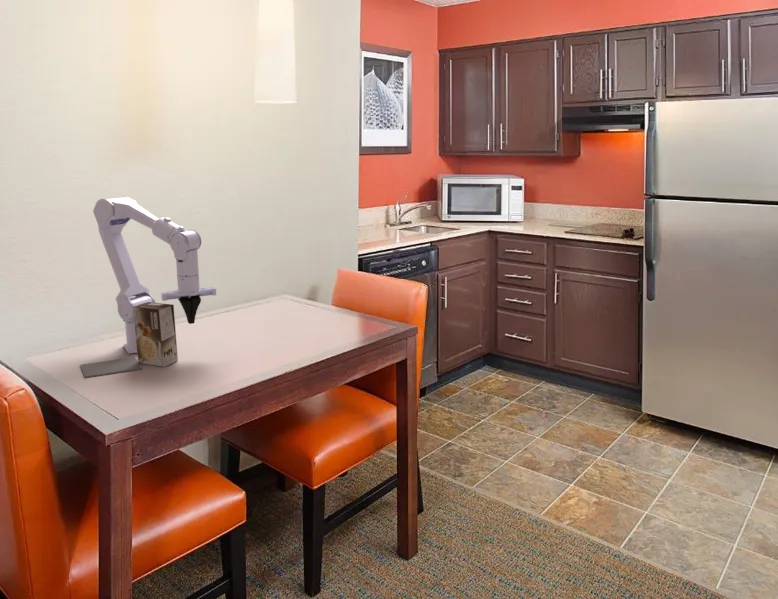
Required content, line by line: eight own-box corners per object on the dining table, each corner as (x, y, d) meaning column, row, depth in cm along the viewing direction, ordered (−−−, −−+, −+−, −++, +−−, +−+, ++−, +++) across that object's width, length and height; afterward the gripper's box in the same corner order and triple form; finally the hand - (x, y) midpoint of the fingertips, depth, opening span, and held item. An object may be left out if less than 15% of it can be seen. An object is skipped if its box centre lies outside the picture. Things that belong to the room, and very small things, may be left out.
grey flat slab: (80, 366, 184) (80, 364, 184) (134, 358, 191) (134, 356, 191) (85, 378, 175) (84, 376, 175) (142, 369, 182) (142, 367, 182)
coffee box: (179, 360, 189) (175, 304, 186) (163, 367, 183) (159, 309, 180) (152, 356, 192) (148, 301, 189) (136, 363, 187) (131, 306, 183)
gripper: (163, 279, 180) (167, 329, 183) (218, 274, 187) (220, 322, 190) (158, 275, 186) (161, 323, 189) (211, 270, 193) (213, 317, 196)
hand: (191, 322), depth 190 cm, fingers closed
